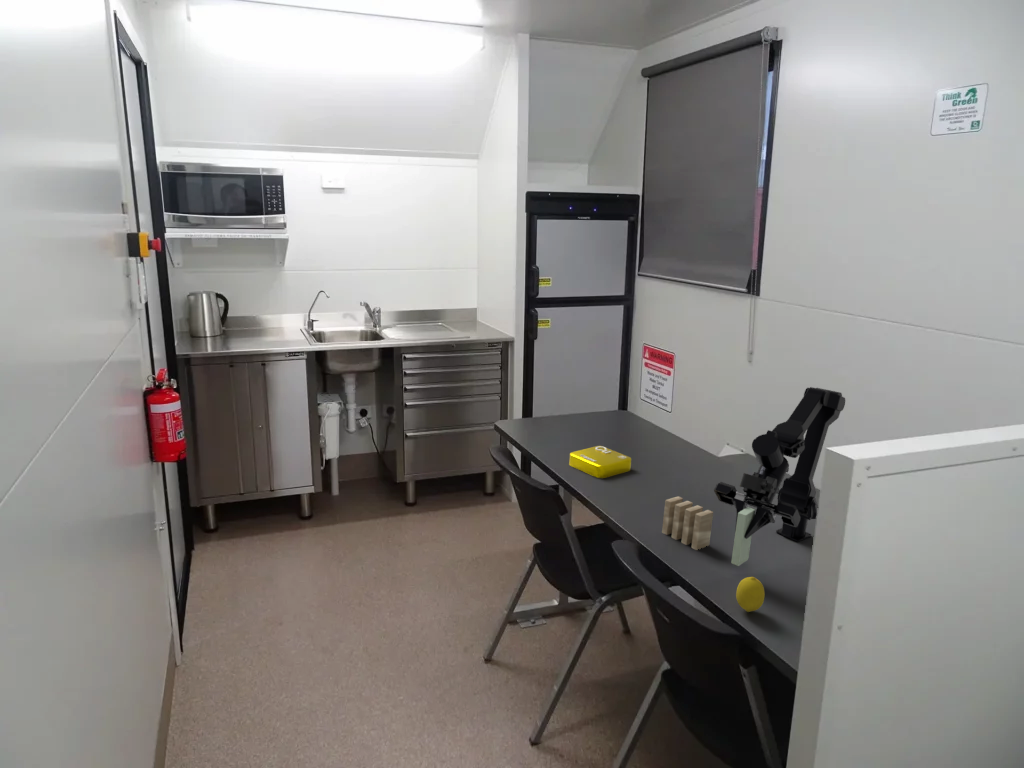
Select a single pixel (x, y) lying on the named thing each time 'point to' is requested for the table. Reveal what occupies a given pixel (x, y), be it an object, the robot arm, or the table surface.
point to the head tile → (742, 537)
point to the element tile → (600, 461)
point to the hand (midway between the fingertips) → (740, 536)
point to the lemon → (750, 594)
